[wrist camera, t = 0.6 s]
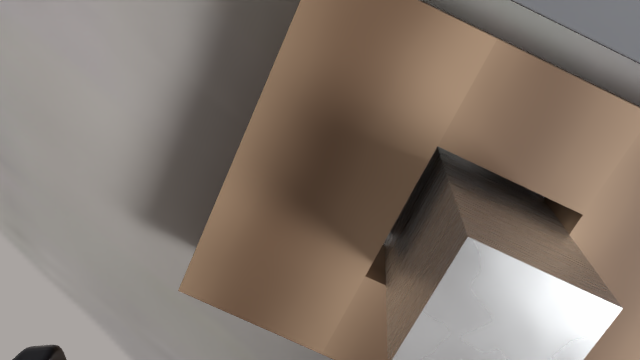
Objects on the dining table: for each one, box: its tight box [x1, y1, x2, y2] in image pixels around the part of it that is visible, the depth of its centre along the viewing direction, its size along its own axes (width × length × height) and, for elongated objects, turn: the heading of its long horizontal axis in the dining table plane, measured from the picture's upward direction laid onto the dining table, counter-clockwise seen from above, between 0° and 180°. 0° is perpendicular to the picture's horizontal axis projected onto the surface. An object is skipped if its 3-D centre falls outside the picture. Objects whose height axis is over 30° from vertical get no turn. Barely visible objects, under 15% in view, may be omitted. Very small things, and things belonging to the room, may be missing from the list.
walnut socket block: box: [178, 0, 640, 360], centre depth 20 cm, size 16×12×3 cm
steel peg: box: [385, 146, 623, 360], centre depth 18 cm, size 4×4×8 cm
